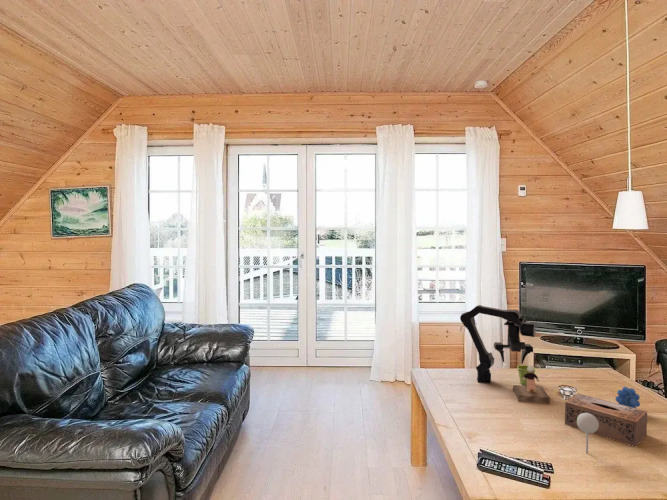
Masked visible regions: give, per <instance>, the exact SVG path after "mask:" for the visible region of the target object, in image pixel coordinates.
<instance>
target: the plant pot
mask: <svg viewBox="0 0 667 500" xmlns="http://www.w3.org/2000/svg"><path fill="white" fill-rule="evenodd" d="M528 366H529V365H525V364H524V365H523V364H521V365H517V366H516V368H517V371H518V377H519V383H520V384H521V385H522V386H527V378H525V380H522V379H523V377H524V375H525V374H527V373H529V372H528V370H527V367H528ZM536 370H537V369H536V367H534V371H533V373H534V374H536Z"/></svg>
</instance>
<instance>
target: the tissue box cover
mask: <svg viewBox="0 0 667 500" xmlns="http://www.w3.org/2000/svg"><path fill="white" fill-rule="evenodd" d="M564 403H565V405H564V406H565V407H564V408H565V409H564V425H567V426H570V427H573V428H575V429H579V430H581V429H580V428H579V427H578V425H577V417H578V416H579V415H580V414H582V413H589V414H592V415H593V416H595V417H596V419H597V420H598V423H599V427H598V429H597V431H596V432H594V433H593V435H594V434H595V435H597V434H598V436H600V435H601V437H604V438H607V437H608V438H607V439H610V438H611V439H610V440H613V439H614V440H613V441H616V440H617V441H616V442H619V441H620V443H622V442H623V443H622V444H625V443H626V445H628V444H630V445H629V446H632V445H633V446H632V447H635V446H636V447H638V445H639V444H640V443H641V442H642V441H643V440H644V438H646V436H648V435H647V434H648V433H647V432H648V427H647V426H648V411H647V410H643V409H640V408H637V407H636V408H632V407H628V406H625V405H621V404H618V402H612V401H610V400H605V399H601V398H597V397H593V396H590V395H586V394H583V393H577V394H575V395H573V396H572V397H570V398H568V400H566V401H565V402H564ZM641 440H642V441H641ZM640 441H641V442H640ZM639 442H640V443H639ZM638 443H639V444H638Z"/></svg>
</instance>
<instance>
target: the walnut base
mask: <svg viewBox="0 0 667 500" xmlns="http://www.w3.org/2000/svg"><path fill="white" fill-rule="evenodd" d="M535 390H536V392H532V390H531V392H528V391H527V385H523V384H521V385H518V384H513V385H512V392H513V393H514V395H515V398H516V399H517V401H518V402H524V403H525V402H526V403H539V404H550V398H551V397H550V396H549V394H548V393H547V392H546V390H545V389H544V388H543V386H536V385H535Z"/></svg>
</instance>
